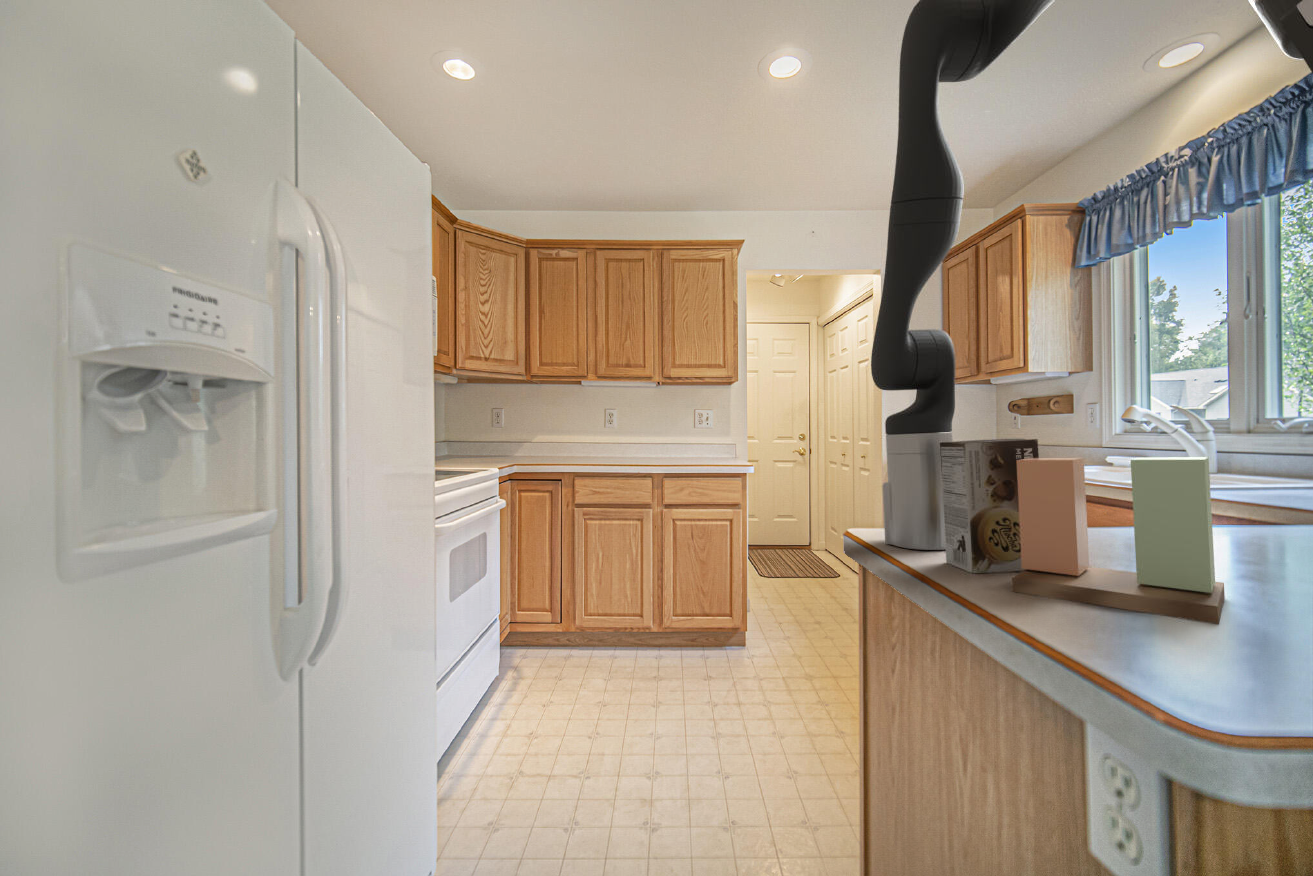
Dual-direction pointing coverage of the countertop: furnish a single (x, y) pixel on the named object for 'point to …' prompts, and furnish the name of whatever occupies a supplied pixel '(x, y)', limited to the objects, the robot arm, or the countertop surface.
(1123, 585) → the brown wooden board
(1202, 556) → the pale green block
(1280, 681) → the countertop surface
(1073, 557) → the peach rectangular block
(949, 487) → the coffee box
